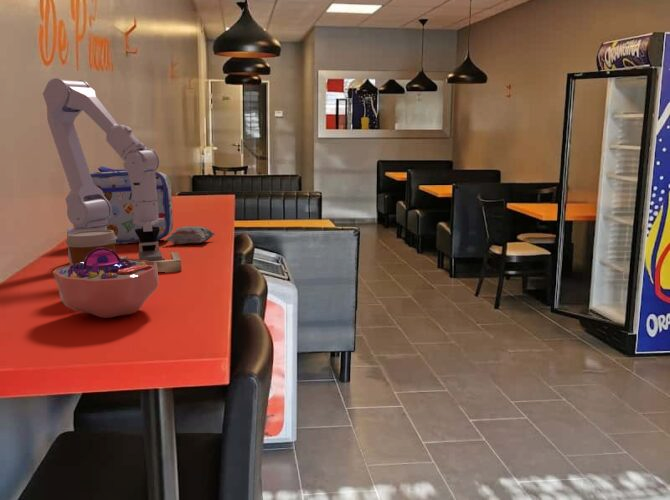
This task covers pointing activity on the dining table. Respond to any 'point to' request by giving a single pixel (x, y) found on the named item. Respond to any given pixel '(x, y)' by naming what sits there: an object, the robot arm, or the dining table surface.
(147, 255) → the grey box with knobs
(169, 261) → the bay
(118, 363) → the dining table surface
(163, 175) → the lunch box
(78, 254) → the disposable coffee cup
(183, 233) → the packaged food
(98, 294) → the cell model
